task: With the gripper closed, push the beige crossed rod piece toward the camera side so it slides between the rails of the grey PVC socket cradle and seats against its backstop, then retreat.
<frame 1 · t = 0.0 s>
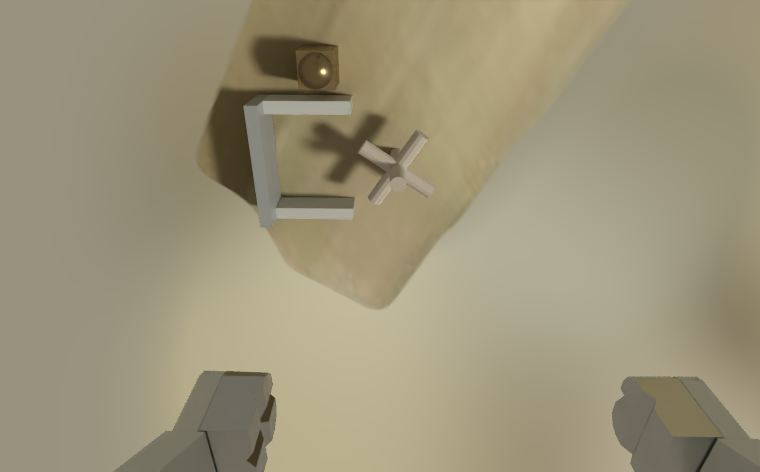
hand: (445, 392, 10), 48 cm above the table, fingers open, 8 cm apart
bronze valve: (321, 64, 52), on the table
socket cradle: (315, 154, 58), on the table
beige crossed rod piece: (396, 154, 58), on the table
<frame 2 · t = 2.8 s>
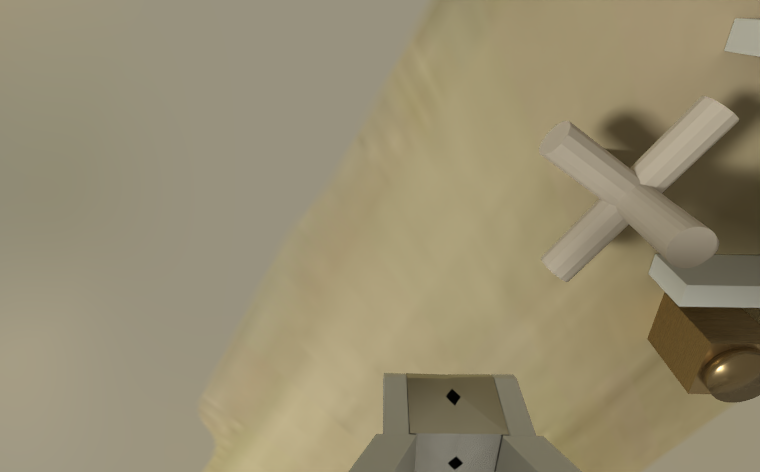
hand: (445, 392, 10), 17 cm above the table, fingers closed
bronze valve: (684, 316, 31), on the table
beige crossed rod piece: (587, 161, 26), on the table
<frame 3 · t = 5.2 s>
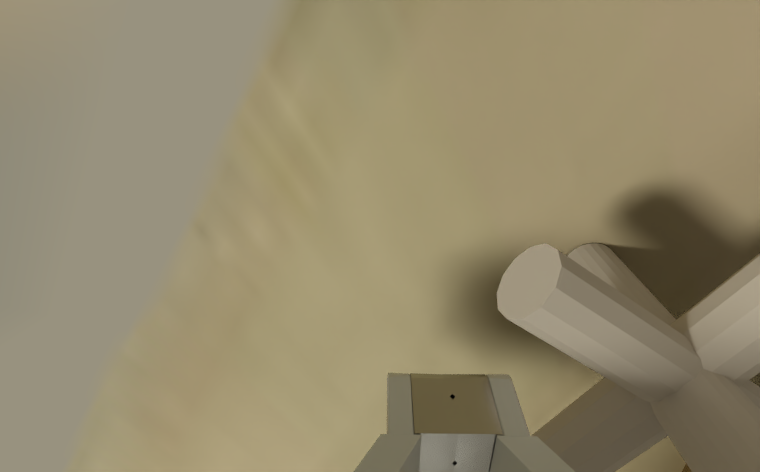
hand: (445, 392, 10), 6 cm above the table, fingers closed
beige crossed rod piece: (585, 263, 15), on the table, touching gripper
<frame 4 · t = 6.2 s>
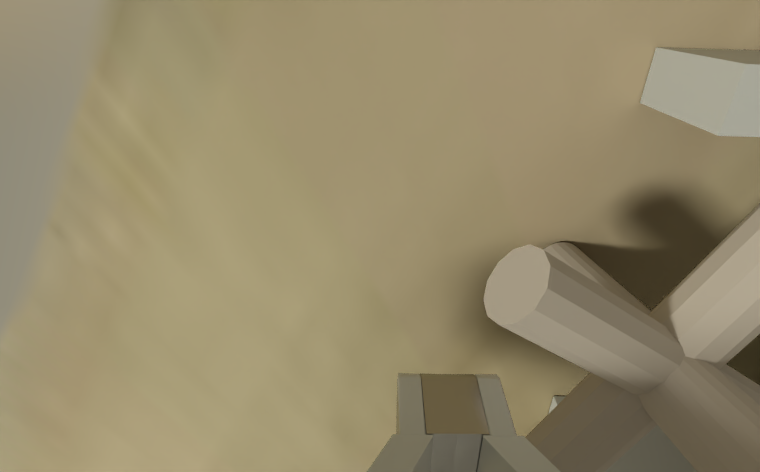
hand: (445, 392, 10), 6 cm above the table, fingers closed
socket cradle: (730, 280, 16), on the table
beige crossed rod piece: (553, 262, 16), on the table, touching gripper
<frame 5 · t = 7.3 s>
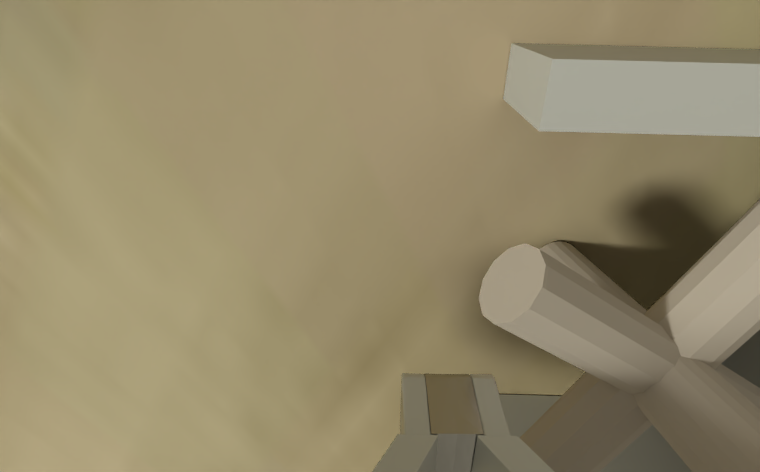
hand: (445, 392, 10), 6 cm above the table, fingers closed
socket cradle: (618, 276, 16), on the table
beige crossed rod piece: (550, 261, 16), on the table, touching gripper
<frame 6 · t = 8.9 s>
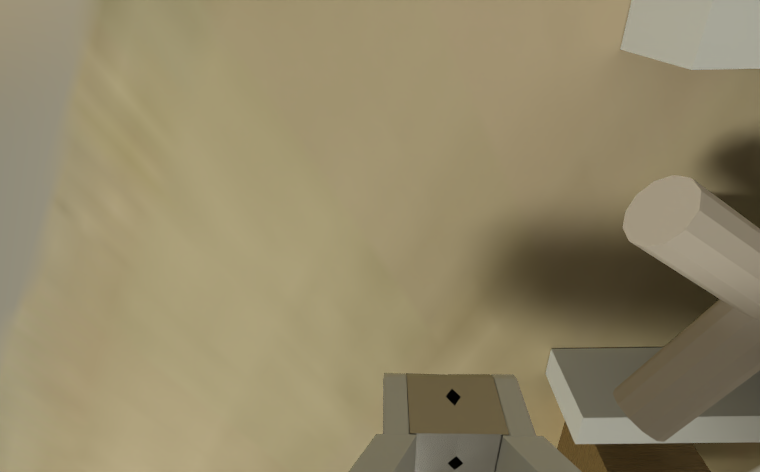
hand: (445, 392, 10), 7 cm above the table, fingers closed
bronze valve: (605, 422, 22), on the table
socket cradle: (717, 224, 16), on the table
beige crossed rod piece: (662, 211, 16), on the table
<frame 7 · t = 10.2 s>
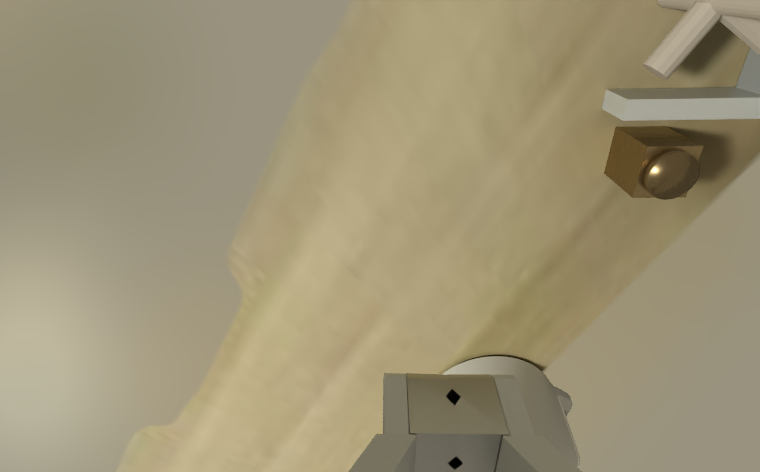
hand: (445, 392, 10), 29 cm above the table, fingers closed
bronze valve: (633, 150, 37), on the table
socket cradle: (697, 0, 32), on the table
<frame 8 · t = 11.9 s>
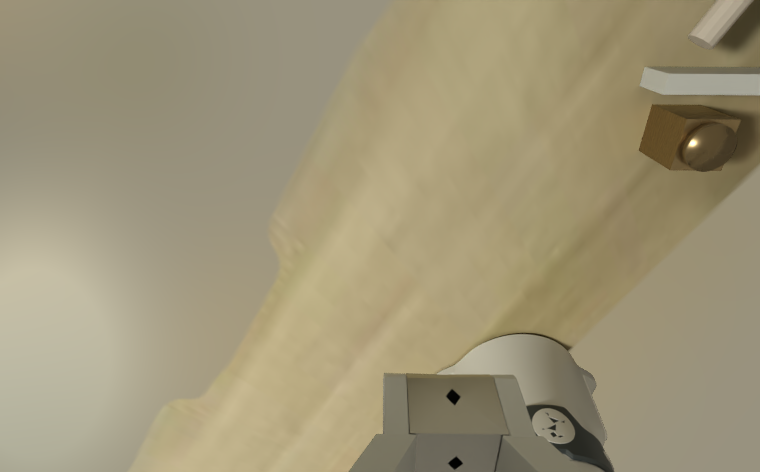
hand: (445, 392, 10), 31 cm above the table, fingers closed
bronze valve: (668, 128, 39), on the table
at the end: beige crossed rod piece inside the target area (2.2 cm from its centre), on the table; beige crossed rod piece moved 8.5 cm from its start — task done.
